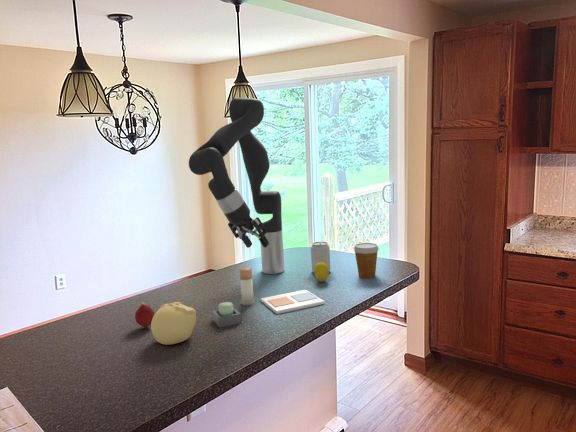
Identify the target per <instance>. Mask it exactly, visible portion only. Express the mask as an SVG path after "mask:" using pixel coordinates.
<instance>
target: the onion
mask: <svg viewBox="0 0 576 432" xmlns="http://www.w3.org/2000/svg"><path fill="white" fill-rule="evenodd" d="M155 313H156V312H155V311H154V309H153V308H152V307H151V306H149V305H147V304H146V303H145V302H141V305H140V306H139V307H138V308H137V310H136V311H135V313H134V320H135V323H136V324H137V325H140V326H141V327H142V328H144V327H147V328H148V327H149V326H151V322H152V319H153V316H154V315H155Z"/></svg>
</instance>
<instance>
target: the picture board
mask: <svg viewBox="0 0 576 432" xmlns="http://www.w3.org/2000/svg"><path fill="white" fill-rule="evenodd" d="M260 302H261V303H263V304H264V305H265V306H266V307H267V308H268V309H270V310H271V311H272V312H274V313H275V314H276V315H279V314H284V313H288V312H294V311H297V310H302V309H307V308H312V307H316V306H320V305H324V304H325V300H324V299H322V298H320V297H318V296H317V295H315V294H314V293H312V292H310V291H309V290H307V289H300V290H296V291H291V292H287V293H281V294H276V295H273V296H266V297H261V298H260Z"/></svg>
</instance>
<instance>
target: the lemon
mask: <svg viewBox="0 0 576 432" xmlns="http://www.w3.org/2000/svg"><path fill="white" fill-rule="evenodd" d="M313 274H314V277H315V278H316V279H317V280H318V281H319V282H321V283H323V282H324V281H326V280H327V279H328V277H329V275H330V271H329V268H328V266H327V264H326V263H324V262H322V261H320V262H319V263H317V264H316V266H315V268H314V272H313Z"/></svg>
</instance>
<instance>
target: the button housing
mask: <svg viewBox="0 0 576 432" xmlns="http://www.w3.org/2000/svg"><path fill="white" fill-rule="evenodd" d="M211 311H212V312H211V313H212V320H213V322H214V324H216V326H217V328H219V329H220V328H225V327H230V326H235V325H240V324H242V313H241V312H240V311H239V310H238V309H237V308H236V307H235V306H233V311H234V314H232V315H227V316H222V317H220V316H219V309H217V310H211Z"/></svg>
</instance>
